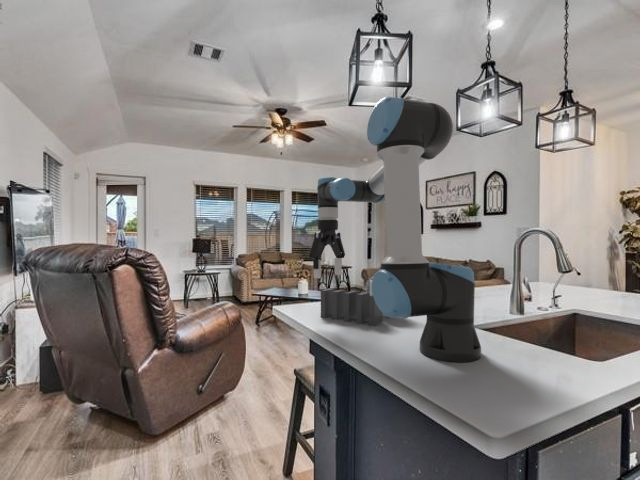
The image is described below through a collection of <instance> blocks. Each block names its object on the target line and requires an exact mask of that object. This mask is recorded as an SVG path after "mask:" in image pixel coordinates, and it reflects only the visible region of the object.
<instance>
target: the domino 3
mask: <svg viewBox="0 0 640 480" xmlns="http://www.w3.org/2000/svg"><path fill="white" fill-rule="evenodd" d="M356 294H358V290H351V291H350V290H349V291H346V293H344V318H343V322H347V323H350V322H353V321H356Z"/></svg>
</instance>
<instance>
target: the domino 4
mask: <svg viewBox="0 0 640 480" xmlns="http://www.w3.org/2000/svg"><path fill="white" fill-rule="evenodd" d="M369 296H370V291H363V292H360V293H357V294H356V319H355V321H356V322H355V323H356V324H359V325H363V324H365V323H367V322H369Z"/></svg>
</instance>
